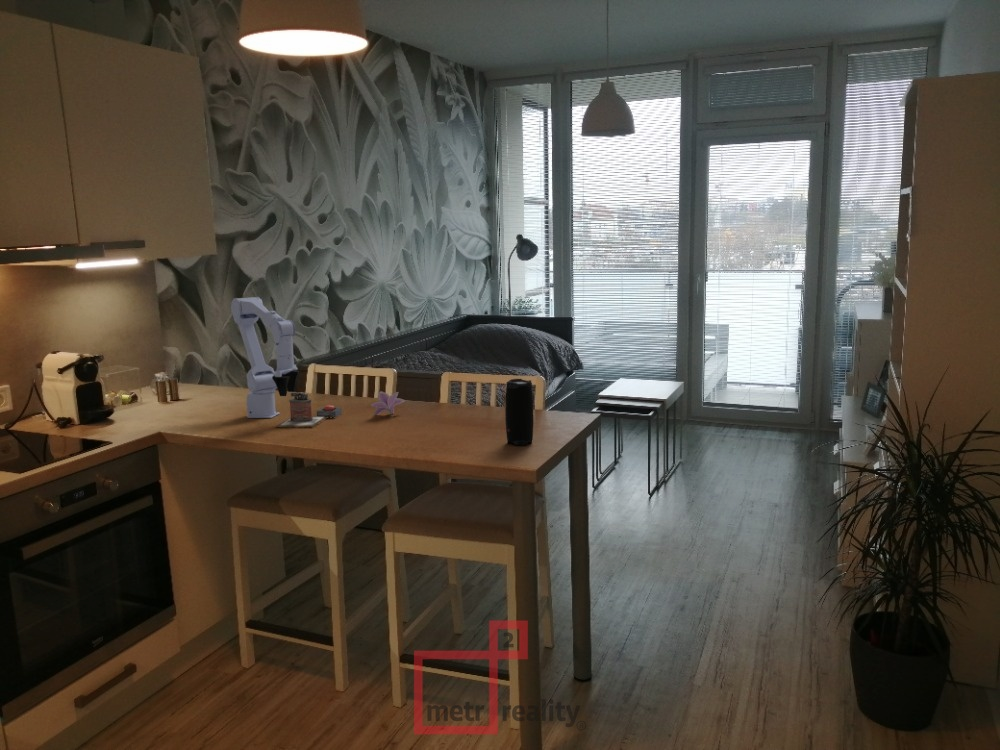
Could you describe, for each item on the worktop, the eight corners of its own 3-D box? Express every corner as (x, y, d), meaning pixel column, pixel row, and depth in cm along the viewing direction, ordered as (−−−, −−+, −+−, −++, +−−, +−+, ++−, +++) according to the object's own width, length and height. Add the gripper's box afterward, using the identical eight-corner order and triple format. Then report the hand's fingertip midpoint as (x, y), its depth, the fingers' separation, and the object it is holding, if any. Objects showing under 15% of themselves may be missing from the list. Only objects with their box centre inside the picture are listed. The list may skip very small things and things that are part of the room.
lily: (410, 416, 288) (403, 392, 290) (404, 410, 276) (396, 385, 278) (379, 427, 288) (372, 403, 290) (372, 422, 276) (364, 396, 278)
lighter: (314, 419, 277) (312, 391, 276) (310, 421, 274) (308, 393, 272) (293, 419, 279) (291, 391, 277) (288, 421, 276) (286, 393, 274)
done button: (322, 411, 285) (322, 407, 284) (326, 409, 288) (325, 405, 288) (332, 411, 284) (332, 407, 284) (335, 409, 288) (335, 405, 287)
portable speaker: (510, 447, 238) (508, 384, 234) (503, 440, 247) (501, 379, 243) (537, 445, 240) (536, 382, 236) (529, 438, 249) (528, 377, 245)
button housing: (317, 417, 283) (316, 411, 283) (323, 413, 290) (323, 407, 290) (335, 418, 283) (335, 411, 282) (341, 413, 289) (341, 407, 289)
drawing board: (276, 427, 270) (276, 425, 270) (293, 417, 285) (292, 415, 284) (312, 427, 268) (312, 425, 268) (327, 418, 283) (327, 415, 283)
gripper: (288, 358, 265) (290, 398, 268) (303, 352, 280) (305, 389, 282) (268, 358, 266) (270, 397, 269) (284, 352, 280) (286, 389, 283)
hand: (287, 393), depth 275 cm, fingers open, 7 cm apart
